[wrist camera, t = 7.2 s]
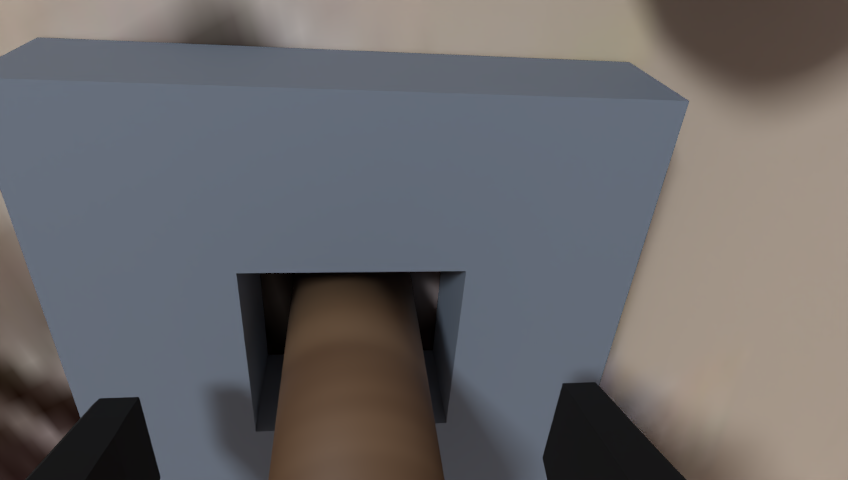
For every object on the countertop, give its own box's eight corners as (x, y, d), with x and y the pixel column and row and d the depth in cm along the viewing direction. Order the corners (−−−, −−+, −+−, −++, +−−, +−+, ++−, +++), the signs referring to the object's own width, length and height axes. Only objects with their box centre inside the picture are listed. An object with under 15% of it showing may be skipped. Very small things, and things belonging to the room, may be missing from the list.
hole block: (629, 61, 12) (689, 100, 10) (535, 431, 17) (560, 504, 15) (37, 37, 10) (-39, 77, 8) (150, 450, 16) (121, 534, 14)
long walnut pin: (409, 330, 15) (452, 632, 9) (297, 334, 14) (264, 652, 8) (413, 236, 13) (469, 524, 7) (288, 238, 13) (241, 542, 7)
